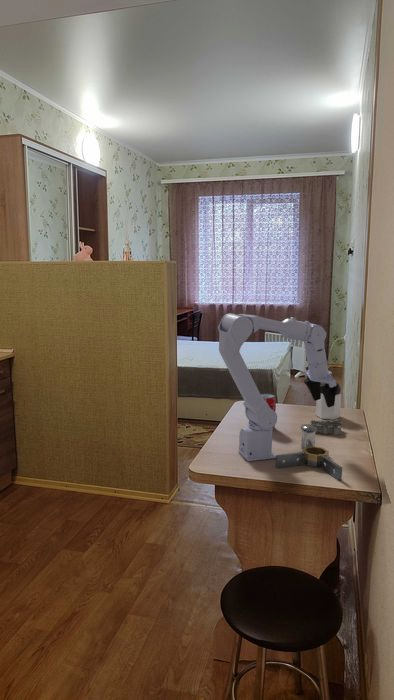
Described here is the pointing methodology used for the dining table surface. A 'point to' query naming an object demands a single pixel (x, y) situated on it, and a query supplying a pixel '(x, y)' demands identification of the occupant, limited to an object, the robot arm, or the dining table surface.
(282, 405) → the dining table surface
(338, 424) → the egg carton
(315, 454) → the hinge
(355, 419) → the dining table surface
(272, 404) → the soda can
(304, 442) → the pin
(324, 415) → the jar
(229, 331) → the robot arm
